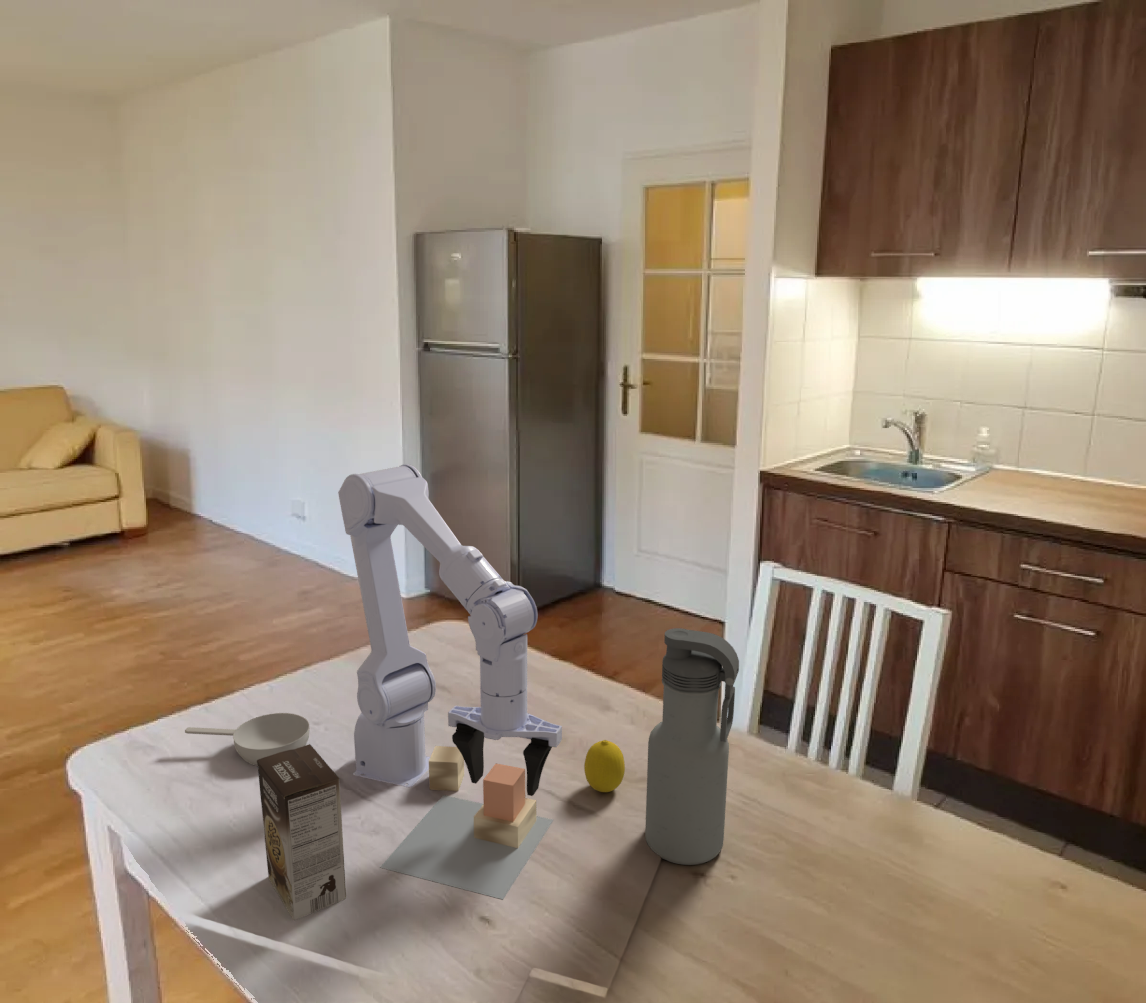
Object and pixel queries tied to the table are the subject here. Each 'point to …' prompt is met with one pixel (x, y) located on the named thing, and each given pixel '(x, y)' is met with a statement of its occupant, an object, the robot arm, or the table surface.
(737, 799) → the table surface
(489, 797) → the terracotta block
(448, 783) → the birch block
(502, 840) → the block
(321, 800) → the coffee box
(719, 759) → the water bottle
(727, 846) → the table surface
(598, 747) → the lemon
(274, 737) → the small pan
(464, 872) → the board
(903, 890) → the table surface
